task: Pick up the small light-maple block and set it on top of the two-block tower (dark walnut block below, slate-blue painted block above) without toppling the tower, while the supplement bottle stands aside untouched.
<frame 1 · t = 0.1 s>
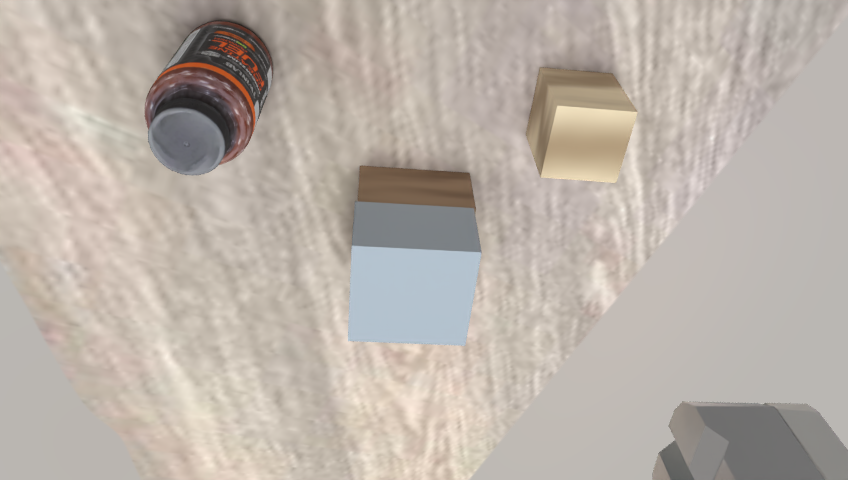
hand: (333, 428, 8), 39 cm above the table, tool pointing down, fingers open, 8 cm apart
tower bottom: (410, 213, 53), on the table, touching tower top
supplement bottle: (229, 61, 46), on the table
maple block: (567, 104, 48), on the table
tower top: (410, 252, 49), point 5 cm above the table, touching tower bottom
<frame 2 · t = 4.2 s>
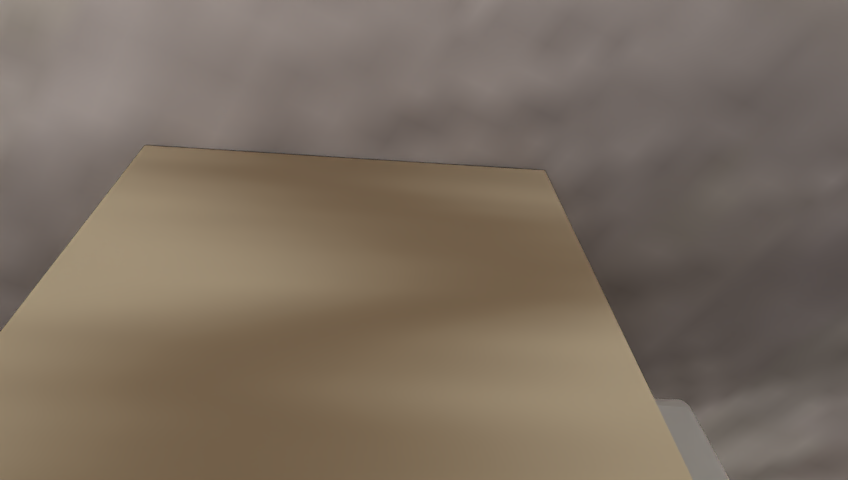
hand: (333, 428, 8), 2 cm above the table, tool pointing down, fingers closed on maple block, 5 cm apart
maple block: (343, 318, 10), on the table, touching gripper
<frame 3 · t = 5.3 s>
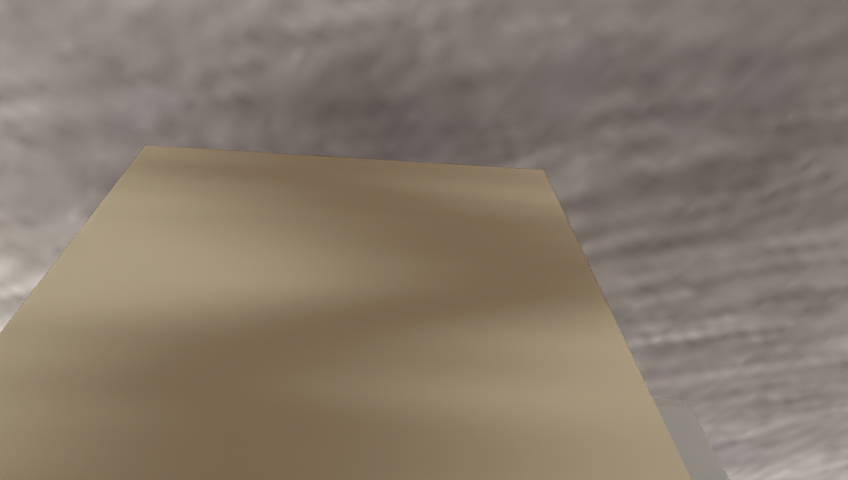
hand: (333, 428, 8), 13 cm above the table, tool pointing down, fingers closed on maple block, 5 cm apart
maple block: (343, 317, 10), point 11 cm above the table, touching gripper
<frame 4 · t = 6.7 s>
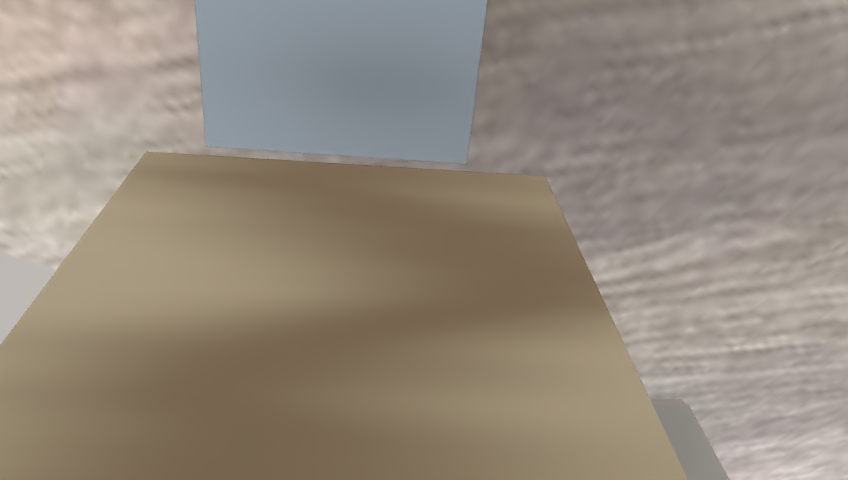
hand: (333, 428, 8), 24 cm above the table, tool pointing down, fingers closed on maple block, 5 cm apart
maple block: (344, 323, 10), point 22 cm above the table, touching gripper
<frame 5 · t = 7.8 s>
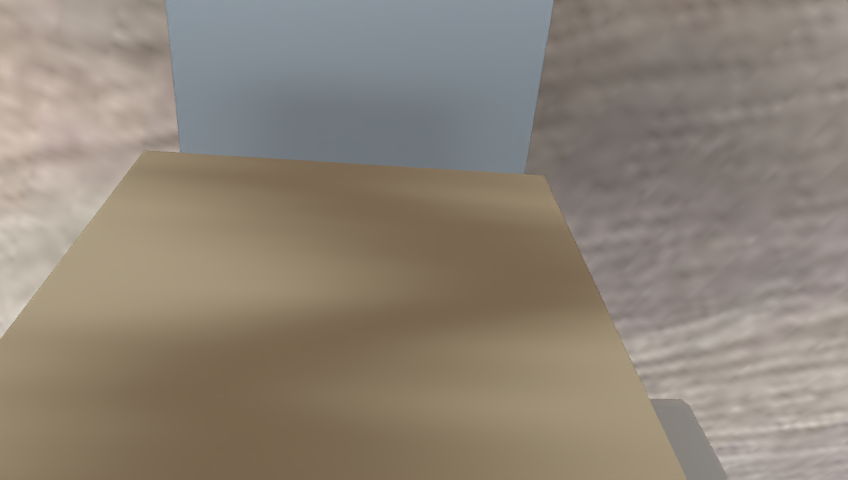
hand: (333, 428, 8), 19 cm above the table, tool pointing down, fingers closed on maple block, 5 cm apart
maple block: (342, 323, 10), point 17 cm above the table, touching gripper
tower top: (363, 67, 20), point 5 cm above the table
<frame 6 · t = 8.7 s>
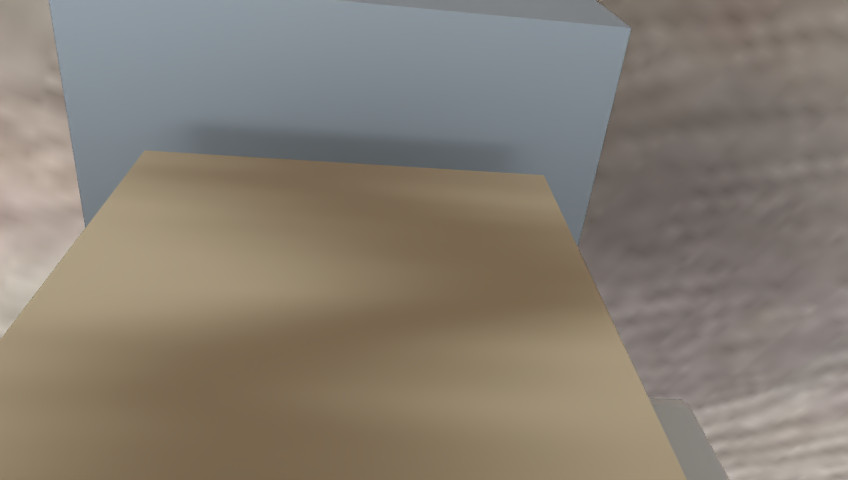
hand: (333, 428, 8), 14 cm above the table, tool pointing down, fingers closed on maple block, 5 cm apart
maple block: (342, 322, 10), point 12 cm above the table, touching gripper
tower top: (350, 137, 16), point 5 cm above the table
when the fingers open (14 cm above the table, at t = 9.5 s): maple block drops 2 cm, resting on tower top.
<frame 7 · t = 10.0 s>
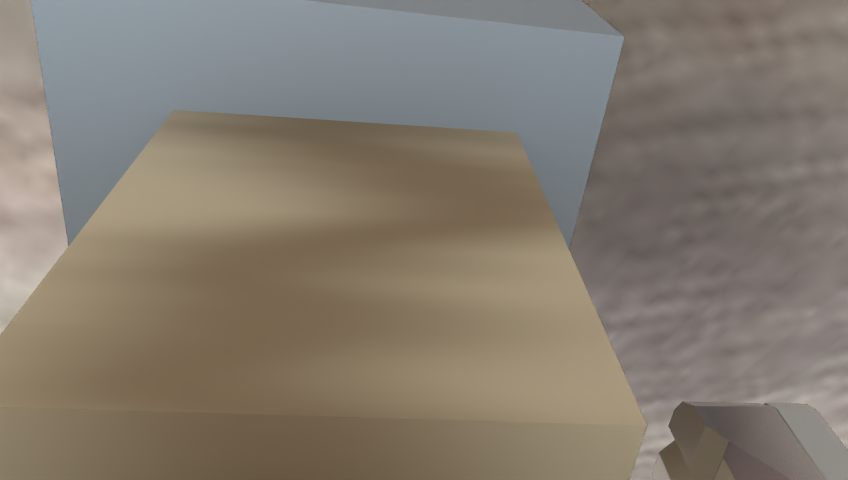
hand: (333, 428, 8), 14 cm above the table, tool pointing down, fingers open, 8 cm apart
maple block: (343, 265, 11), point 10 cm above the table, touching tower top
tower top: (340, 140, 16), point 5 cm above the table, touching maple block, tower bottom
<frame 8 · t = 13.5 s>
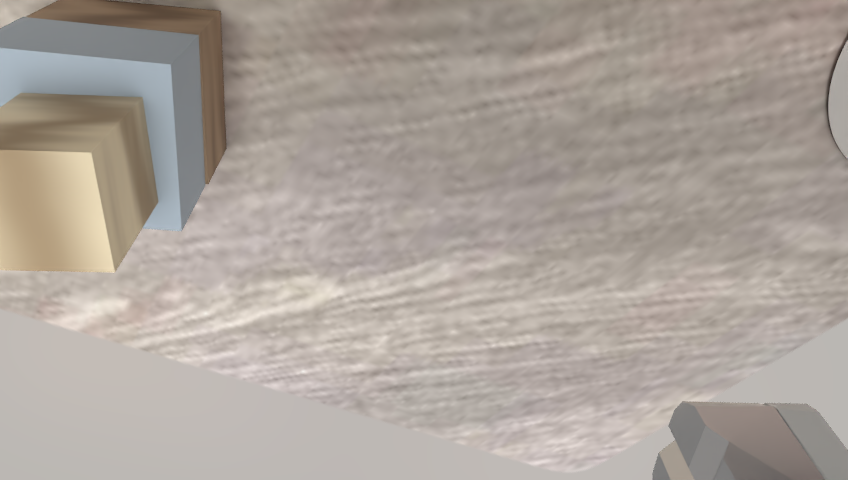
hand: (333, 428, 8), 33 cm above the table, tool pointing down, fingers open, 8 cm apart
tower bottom: (151, 76, 39), on the table, touching tower top
maple block: (92, 149, 31), point 10 cm above the table, touching tower top
tower top: (120, 106, 35), point 5 cm above the table, touching maple block, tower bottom
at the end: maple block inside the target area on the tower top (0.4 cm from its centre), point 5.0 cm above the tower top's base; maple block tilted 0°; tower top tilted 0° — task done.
